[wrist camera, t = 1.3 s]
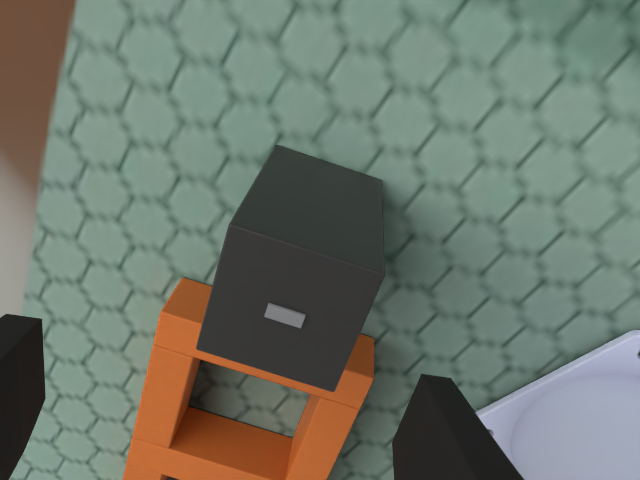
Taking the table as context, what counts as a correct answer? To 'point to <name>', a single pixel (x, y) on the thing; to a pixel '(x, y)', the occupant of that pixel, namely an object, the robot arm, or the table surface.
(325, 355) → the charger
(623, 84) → the table surface
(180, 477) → the orange two-hole brick
